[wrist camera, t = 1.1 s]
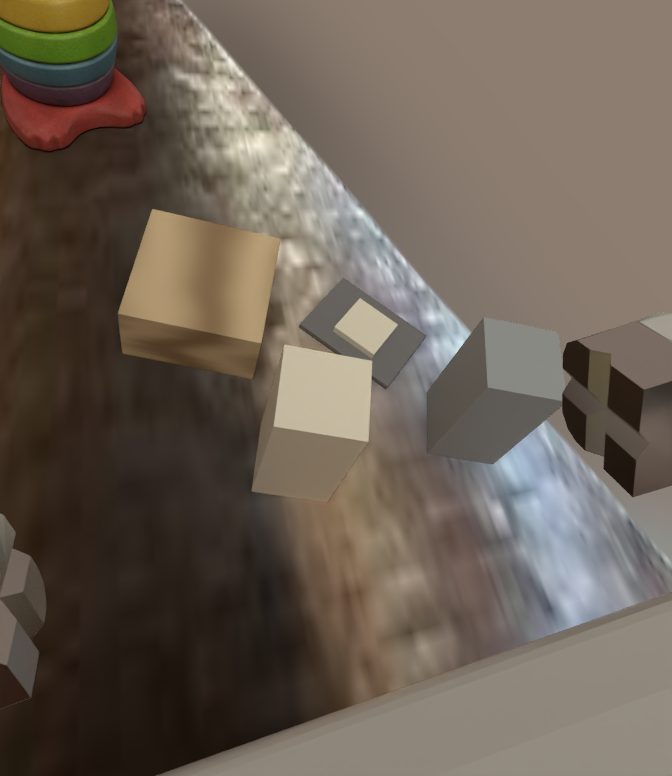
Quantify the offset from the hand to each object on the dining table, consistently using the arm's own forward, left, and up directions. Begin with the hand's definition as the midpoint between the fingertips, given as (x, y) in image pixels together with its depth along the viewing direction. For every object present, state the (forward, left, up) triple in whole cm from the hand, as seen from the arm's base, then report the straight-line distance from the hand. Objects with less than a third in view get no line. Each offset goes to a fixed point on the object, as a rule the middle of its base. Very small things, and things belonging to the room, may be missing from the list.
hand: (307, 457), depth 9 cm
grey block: (+5, +23, -31) cm, 39 cm away
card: (-5, +25, -31) cm, 40 cm away
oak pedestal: (-15, +18, -31) cm, 39 cm away
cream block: (-3, +13, -31) cm, 34 cm away
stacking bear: (-37, +27, -31) cm, 56 cm away
